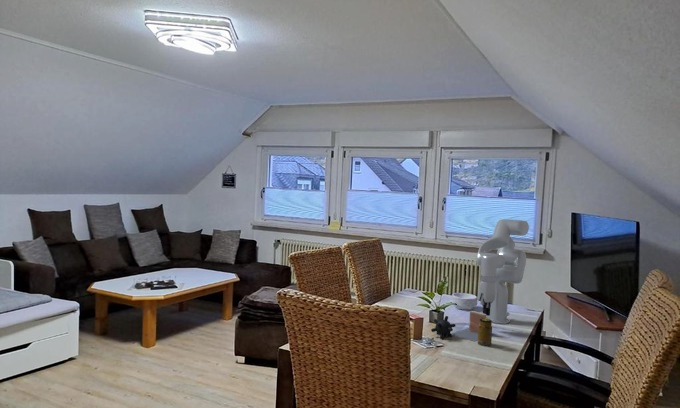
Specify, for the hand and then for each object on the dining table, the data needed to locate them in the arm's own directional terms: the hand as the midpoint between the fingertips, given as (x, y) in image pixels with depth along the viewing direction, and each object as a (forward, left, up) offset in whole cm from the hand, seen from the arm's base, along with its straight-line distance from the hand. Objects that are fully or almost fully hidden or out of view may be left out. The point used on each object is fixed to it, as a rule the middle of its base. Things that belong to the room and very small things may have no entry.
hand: (486, 314), depth 234 cm
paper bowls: (-32, -33, -8) cm, 47 cm away
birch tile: (+8, 0, -8) cm, 11 cm away
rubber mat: (+12, 0, -8) cm, 14 cm away
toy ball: (+28, -6, -8) cm, 29 cm away
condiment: (+21, +12, -9) cm, 26 cm away
